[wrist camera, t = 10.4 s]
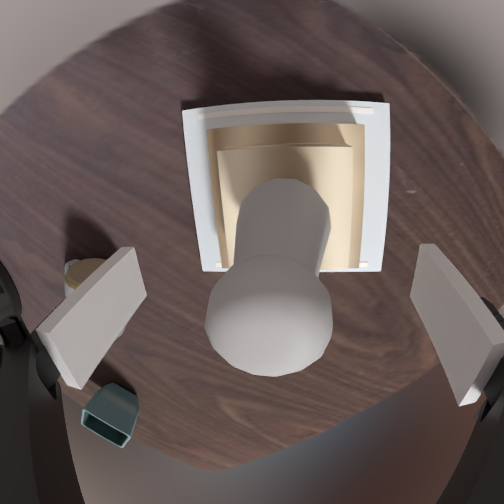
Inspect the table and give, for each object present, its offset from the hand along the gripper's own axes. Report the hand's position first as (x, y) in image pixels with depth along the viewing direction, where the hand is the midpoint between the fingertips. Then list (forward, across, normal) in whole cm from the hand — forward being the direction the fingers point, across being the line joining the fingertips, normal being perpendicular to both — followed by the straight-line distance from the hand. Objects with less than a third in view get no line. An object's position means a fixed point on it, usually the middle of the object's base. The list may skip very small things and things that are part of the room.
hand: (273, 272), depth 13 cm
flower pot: (+16, -29, -35) cm, 48 cm away
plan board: (+15, 0, 0) cm, 15 cm away
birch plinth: (+15, 0, 0) cm, 15 cm away
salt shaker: (+9, 0, 0) cm, 9 cm away
